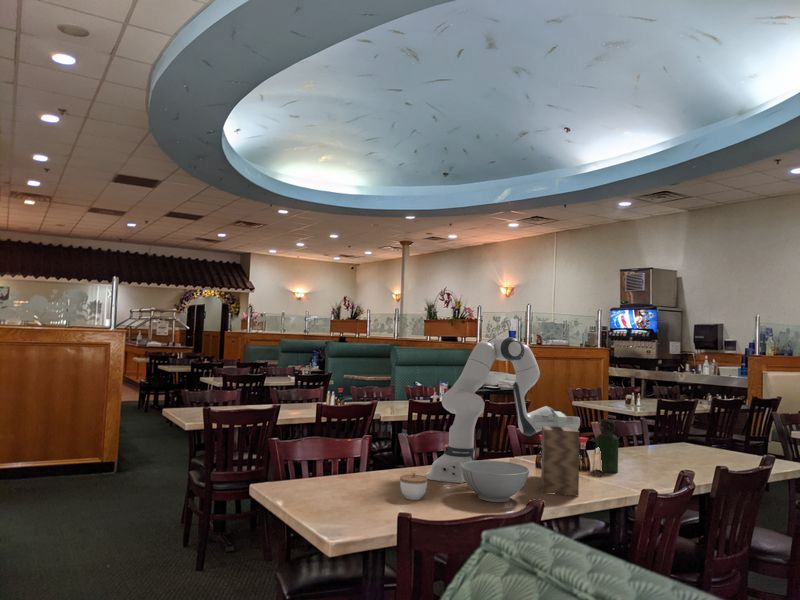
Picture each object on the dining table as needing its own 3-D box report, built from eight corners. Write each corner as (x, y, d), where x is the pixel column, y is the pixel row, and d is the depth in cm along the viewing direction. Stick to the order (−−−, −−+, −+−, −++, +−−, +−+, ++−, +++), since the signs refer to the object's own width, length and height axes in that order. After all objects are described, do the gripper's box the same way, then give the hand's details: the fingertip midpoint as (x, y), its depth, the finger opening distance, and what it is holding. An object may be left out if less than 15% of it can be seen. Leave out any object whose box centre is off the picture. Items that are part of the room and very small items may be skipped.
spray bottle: (609, 468, 308) (610, 418, 309) (622, 473, 298) (622, 421, 299) (591, 468, 305) (592, 418, 306) (603, 473, 295) (604, 421, 296)
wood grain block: (543, 493, 250) (544, 429, 252) (541, 486, 262) (542, 425, 264) (578, 496, 248) (579, 431, 250) (574, 489, 260) (575, 427, 262)
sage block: (558, 426, 250) (558, 416, 251) (553, 420, 271) (553, 411, 271) (566, 427, 250) (566, 417, 250) (560, 420, 271) (560, 411, 271)
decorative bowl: (449, 500, 235) (450, 468, 236) (474, 486, 259) (475, 457, 260) (516, 511, 223) (517, 477, 223) (536, 496, 246) (537, 465, 247)
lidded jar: (399, 493, 242) (400, 469, 243) (426, 495, 242) (427, 470, 242) (398, 500, 231) (399, 475, 232) (427, 502, 231) (427, 476, 232)
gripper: (531, 419, 282) (533, 406, 271) (577, 421, 279) (581, 409, 267) (531, 432, 279) (533, 420, 267) (578, 435, 275) (582, 422, 264)
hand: (558, 414), depth 267 cm, fingers closed on sage block, 3 cm apart
